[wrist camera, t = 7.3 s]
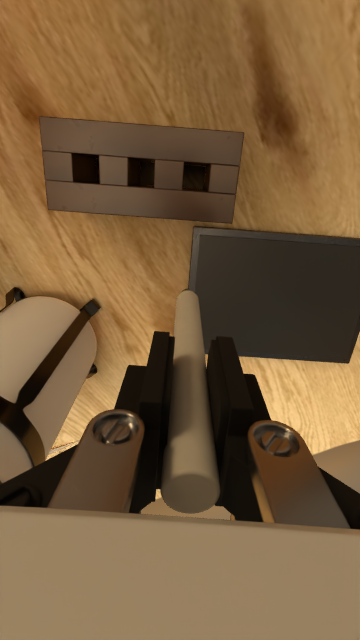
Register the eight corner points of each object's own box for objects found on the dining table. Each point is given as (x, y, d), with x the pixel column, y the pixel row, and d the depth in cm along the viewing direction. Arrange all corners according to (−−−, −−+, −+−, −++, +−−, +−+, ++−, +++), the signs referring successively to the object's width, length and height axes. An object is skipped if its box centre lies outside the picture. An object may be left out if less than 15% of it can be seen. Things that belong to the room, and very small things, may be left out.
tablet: (183, 349, 43) (182, 353, 42) (193, 225, 36) (193, 227, 35) (346, 360, 43) (349, 364, 42) (386, 240, 36) (391, 241, 35)
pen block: (71, 129, 32) (38, 116, 25) (230, 142, 33) (244, 132, 25) (76, 203, 35) (47, 210, 28) (222, 214, 35) (232, 223, 28)
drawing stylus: (177, 284, 20) (161, 470, 7) (199, 286, 20) (224, 473, 7) (176, 304, 20) (158, 513, 7) (196, 306, 20) (216, 517, 7)
